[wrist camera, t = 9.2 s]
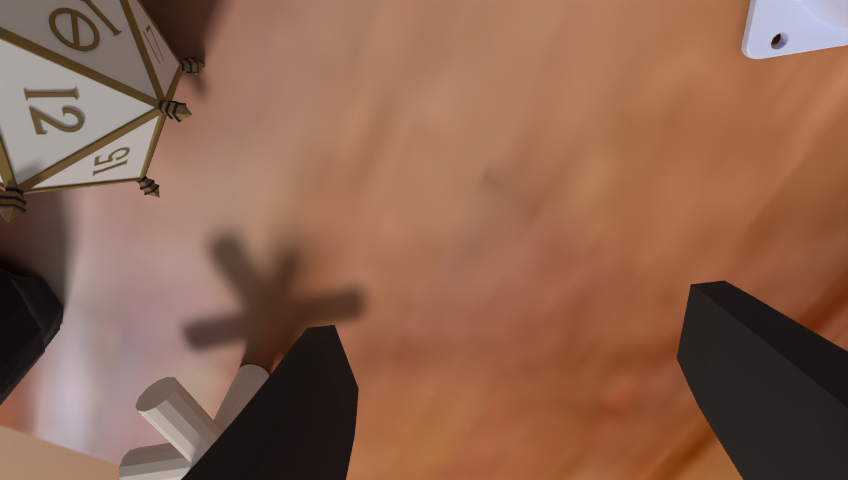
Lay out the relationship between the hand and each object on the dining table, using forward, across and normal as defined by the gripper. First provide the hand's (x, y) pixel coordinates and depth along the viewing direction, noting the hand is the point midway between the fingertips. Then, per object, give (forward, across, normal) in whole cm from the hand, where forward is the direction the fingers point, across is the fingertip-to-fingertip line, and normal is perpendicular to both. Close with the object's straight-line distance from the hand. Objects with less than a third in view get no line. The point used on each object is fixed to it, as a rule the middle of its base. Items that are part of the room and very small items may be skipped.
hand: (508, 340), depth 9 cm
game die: (+11, +12, -6) cm, 18 cm away
